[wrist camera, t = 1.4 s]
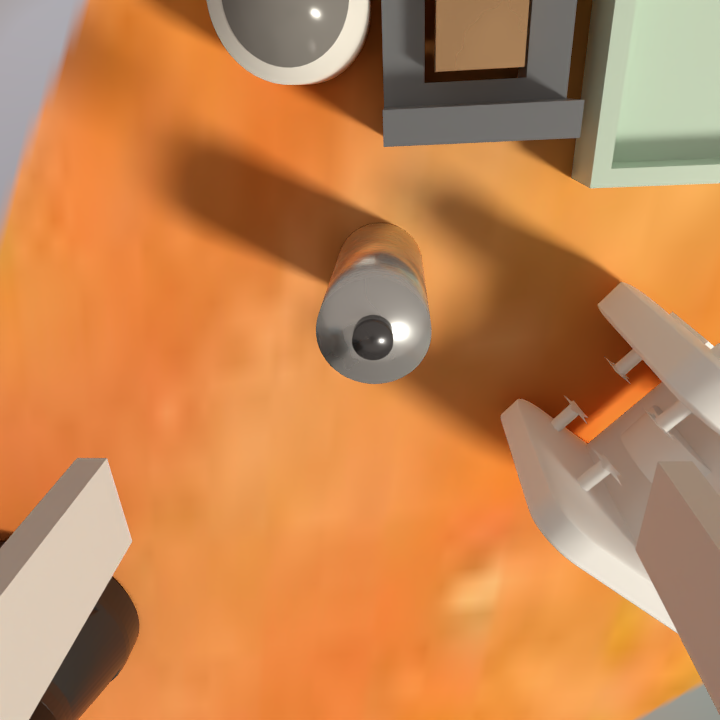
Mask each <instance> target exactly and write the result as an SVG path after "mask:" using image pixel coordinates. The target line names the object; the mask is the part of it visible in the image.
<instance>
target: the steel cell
mask: <svg viewBox="0 0 720 720" xmlns="http://www.w3.org/2000/svg"><path fill="white" fill-rule="evenodd" d="M316 337H317V342H318V345H319V348H320V350H321V353H322V355H323V356H324V358H325V359H326V361H327V362H328V363H329V364H330V365H331V366H332V367H333V368H334V369H335V370H336V371H338V372H339V373H340V374H342V375H344V376H345V377H347V378H350V379H352V380H354V381H358V382H362V383H368V384H380V383H387V382H391V381H394V380H397V379H400V378H402V377H404V376H405V375H407V374H409V373H410V372H411V371H413V370H414V369H415V368H416V367H417V366H418V365H419V364H420V363H421V361H422V360H423V358H424V357H425V355H426V353H427V351H428V348H429V345H430V341H431V321H430V314H429V307H428V300H427V292H426V285H425V278H424V270H423V263H422V257H421V252H420V250H419V247H418V245H417V243H416V242H415V240H414V239H413V238H412V237H411V236H410V234H408V233H407V232H406V231H405V230H403V229H401V228H399V227H397V226H395V225H392V224H387V223H373V224H369V225H366V226H363V227H361V228H359V229H357V230H356V231H354V232H353V233H352V234H351V235H350V236H349V237H348V238H347V239H346V241H345V242H344V244H343V246H342V248H341V250H340V253H339V256H338V259H337V262H336V265H335V268H334V271H333V274H332V277H331V280H330V282H329V285H328V288H327V291H326V294H325V297H324V300H323V303H322V306H321V309H320V312H319V315H318V318H317V324H316Z"/></svg>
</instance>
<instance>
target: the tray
mask: <svg viewBox="0 0 720 720" xmlns="http://www.w3.org/2000/svg"><path fill="white" fill-rule="evenodd" d="M581 100H585V101H584V109H583V117H582V126H581V134H580V138H576V143H575V151H574V159H573V168H572V176H571V178H572V179H574V180H576V181H578V182H580V183H581V184H583V185H585V186H587V187H589V188H609V187H634V186H660V185H685V184H711V183H720V0H592V9H591V17H590V25H589V34H588V42H587V50H586V59H585V67H584V76H583V84H582V92H581Z"/></svg>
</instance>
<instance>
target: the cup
mask: <svg viewBox="0 0 720 720" xmlns="http://www.w3.org/2000/svg"><path fill="white" fill-rule="evenodd" d="M207 5H208V10H209V14H210V17H211V20H212V23H213V26H214V28H215V30H216V33H217V35H218V37H219V39H220V40H221V42H222V44H223V45H224V47H225V48H226V50H227V51H228V52H229V54H230V55H231V56H232V57H233V58H234V59H235V60H236V61H237V62H238V63H239V64H240V65H241V66H242V67H243V68H245V69H246V70H247V71H249V72H250V73H252V74H253V75H255V76H257V77H259V78H261V79H263V80H266V81H269V82H273V83H277V84H283V85H309V84H319V83H322V82H326V81H329V80H331V79H333V78H335V77H337V76H338V75H340V74H341V73H343V72H344V71H345V70H346V69H347V68H349V66H350V65H351V64H352V63H353V62H354V61H355V59H356V58H357V56H358V55H359V54H360V52H361V50H362V48H363V46H364V44H365V41H366V38H367V35H368V31H369V27H370V21H371V0H207Z"/></svg>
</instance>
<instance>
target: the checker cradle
mask: <svg viewBox="0 0 720 720" xmlns="http://www.w3.org/2000/svg"><path fill="white" fill-rule="evenodd" d="M576 7H577V0H529V12H528V26H527V39H526V52H525V65H524V67H518V78H506V79H488V80H469V81H451V82H433V83H424V71H425V0H381V9H382V46H383V84H384V109H383V138H384V147H392V146H413V145H435V144H457V143H478V142H500V141H522V140H544V139H565V138H580V134H581V126H582V117H583V109H584V101H585V100H581V99H569V98H567V90H568V81H569V71H570V62H571V53H572V44H573V35H574V26H575V16H576Z"/></svg>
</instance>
